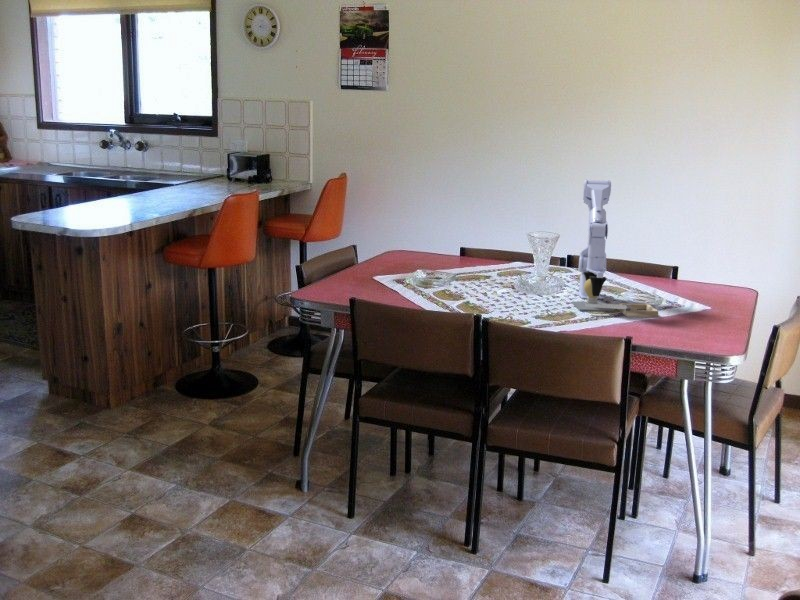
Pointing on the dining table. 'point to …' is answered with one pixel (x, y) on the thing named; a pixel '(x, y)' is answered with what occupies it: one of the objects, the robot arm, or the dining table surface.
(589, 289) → the light bulb
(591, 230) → the robot arm
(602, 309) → the gray square panel
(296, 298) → the dining table surface
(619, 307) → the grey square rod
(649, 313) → the square wooden frame
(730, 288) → the dining table surface
